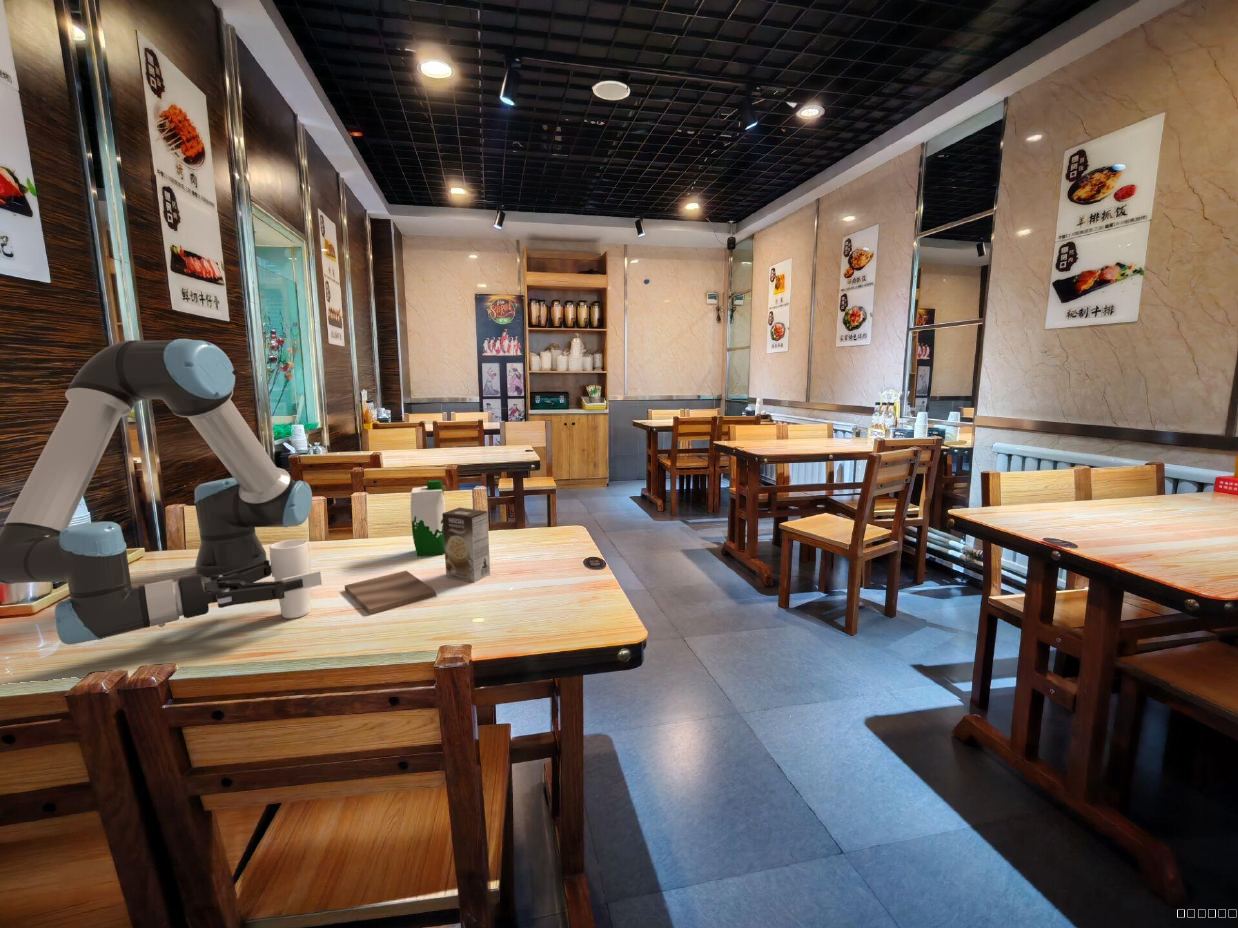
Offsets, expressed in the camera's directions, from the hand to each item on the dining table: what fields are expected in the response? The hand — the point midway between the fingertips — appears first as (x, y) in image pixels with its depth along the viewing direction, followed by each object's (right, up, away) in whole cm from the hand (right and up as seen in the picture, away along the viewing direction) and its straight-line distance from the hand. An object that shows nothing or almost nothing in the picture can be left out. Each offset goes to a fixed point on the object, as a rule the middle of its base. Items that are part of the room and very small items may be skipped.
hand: (313, 569), depth 112 cm
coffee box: (+27, -5, +19) cm, 34 cm away
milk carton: (+11, -3, +38) cm, 40 cm away
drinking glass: (-3, -9, -1) cm, 10 cm away
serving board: (+12, -7, +9) cm, 17 cm away
